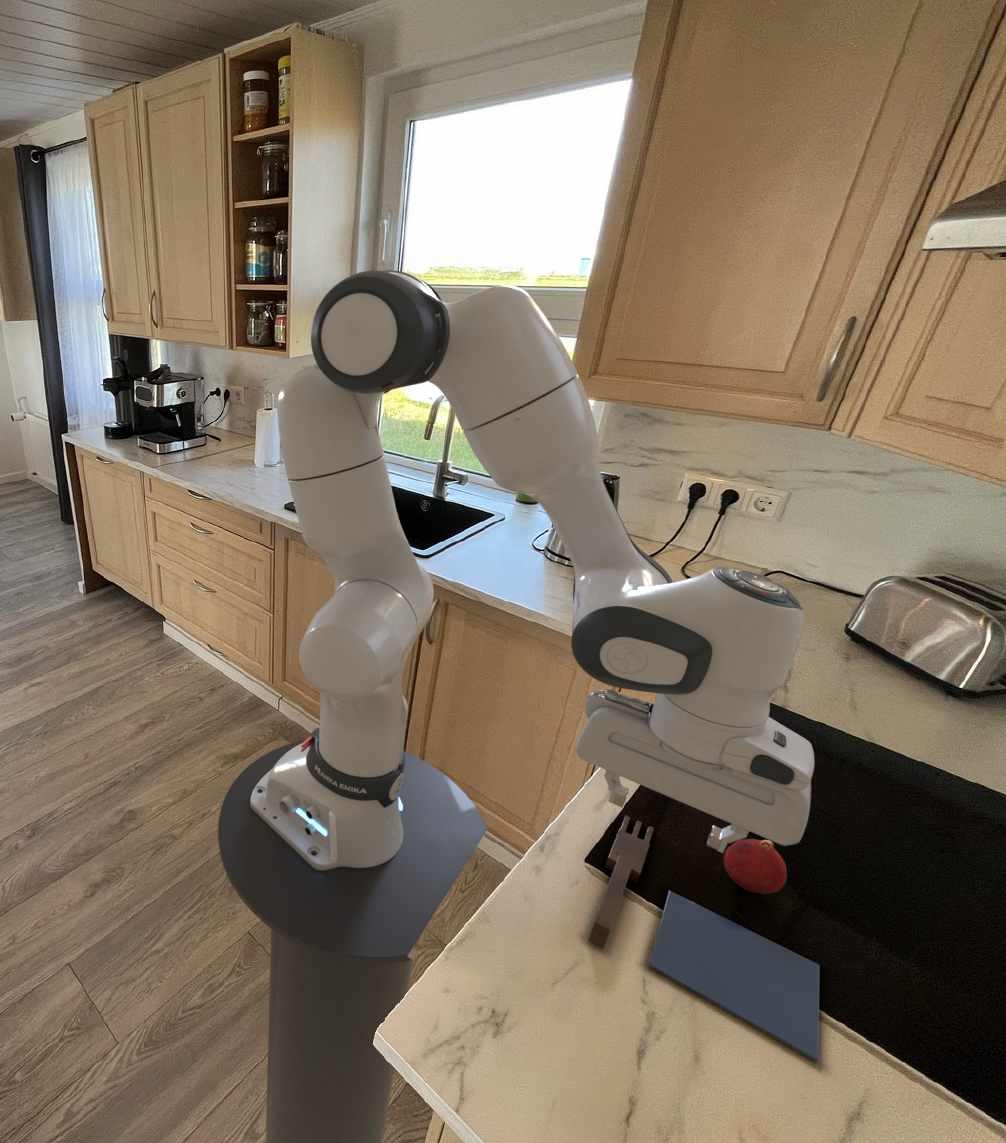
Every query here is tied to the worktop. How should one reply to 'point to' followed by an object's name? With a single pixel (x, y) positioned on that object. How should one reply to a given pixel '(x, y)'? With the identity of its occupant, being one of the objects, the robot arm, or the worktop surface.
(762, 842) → the red fruit
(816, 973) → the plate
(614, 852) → the fork
